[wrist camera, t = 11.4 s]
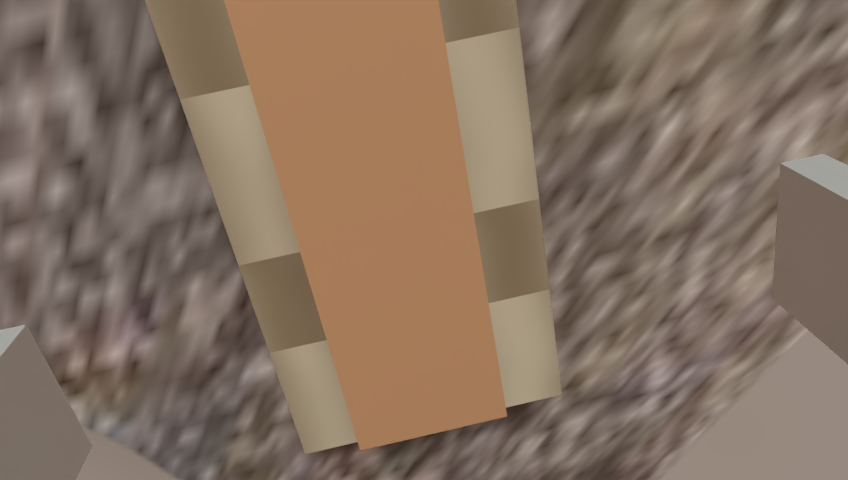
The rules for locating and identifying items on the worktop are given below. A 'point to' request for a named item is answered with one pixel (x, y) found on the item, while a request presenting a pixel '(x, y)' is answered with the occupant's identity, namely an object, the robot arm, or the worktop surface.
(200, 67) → the beige flat slotted piece
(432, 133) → the orange-brown block
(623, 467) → the worktop surface
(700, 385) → the worktop surface
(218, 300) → the worktop surface
